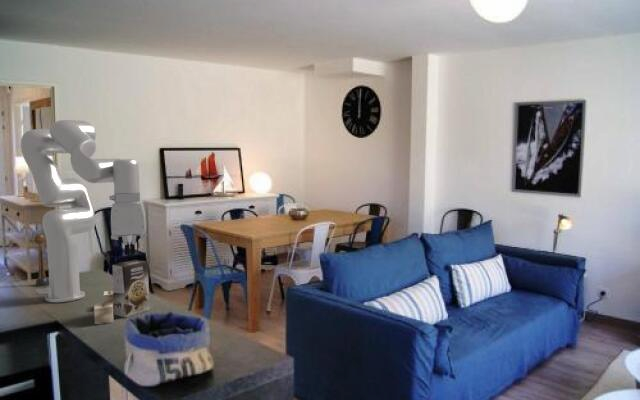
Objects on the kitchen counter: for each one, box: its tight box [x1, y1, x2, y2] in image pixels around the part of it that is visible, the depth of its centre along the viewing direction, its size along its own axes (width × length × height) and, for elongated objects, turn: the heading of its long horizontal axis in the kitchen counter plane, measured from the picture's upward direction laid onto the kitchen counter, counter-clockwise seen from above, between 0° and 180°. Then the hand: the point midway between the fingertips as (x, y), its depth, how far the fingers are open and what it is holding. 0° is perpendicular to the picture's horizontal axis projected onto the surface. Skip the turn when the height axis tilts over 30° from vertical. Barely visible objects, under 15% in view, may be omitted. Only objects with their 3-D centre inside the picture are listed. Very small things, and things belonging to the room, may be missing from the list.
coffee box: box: [112, 259, 150, 318], centre depth 165 cm, size 9×6×16 cm
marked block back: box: [103, 290, 114, 310], centre depth 172 cm, size 5×5×5 cm
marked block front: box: [93, 302, 114, 325], centre depth 157 cm, size 5×5×5 cm
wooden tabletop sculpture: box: [29, 233, 50, 287], centre depth 202 cm, size 6×5×20 cm
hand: (130, 256), depth 164 cm, fingers closed
